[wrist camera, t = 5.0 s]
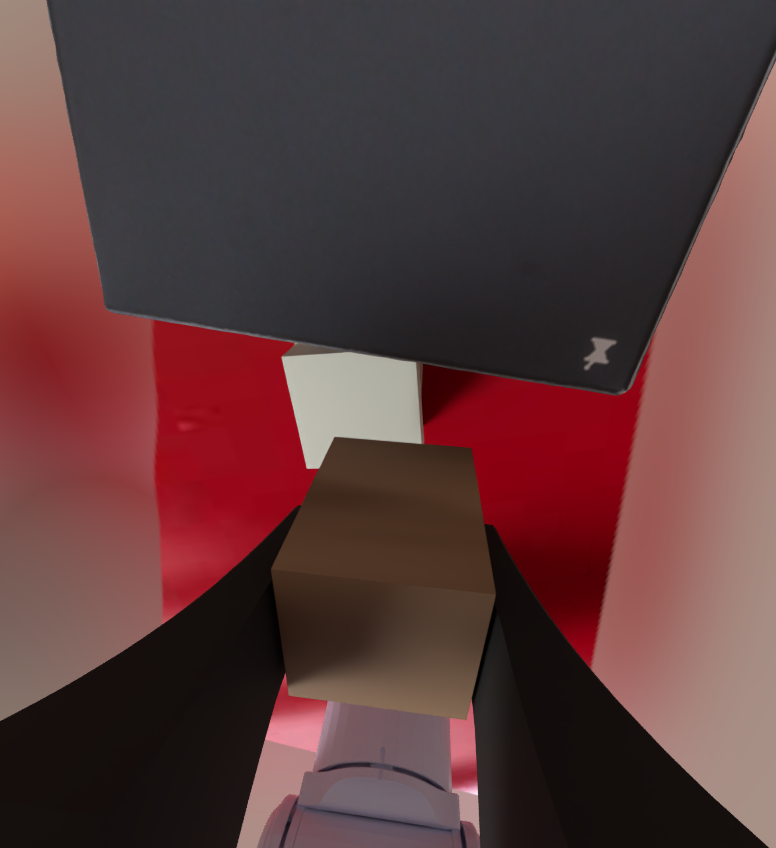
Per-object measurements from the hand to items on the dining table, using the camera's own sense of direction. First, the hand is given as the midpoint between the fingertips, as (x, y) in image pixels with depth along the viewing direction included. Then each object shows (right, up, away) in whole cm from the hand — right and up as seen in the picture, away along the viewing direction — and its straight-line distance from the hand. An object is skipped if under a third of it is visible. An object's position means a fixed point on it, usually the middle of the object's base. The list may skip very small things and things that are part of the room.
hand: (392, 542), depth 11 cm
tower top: (-1, +5, +6) cm, 8 cm away
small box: (+1, +12, +5) cm, 13 cm away
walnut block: (0, +1, +1) cm, 2 cm away
